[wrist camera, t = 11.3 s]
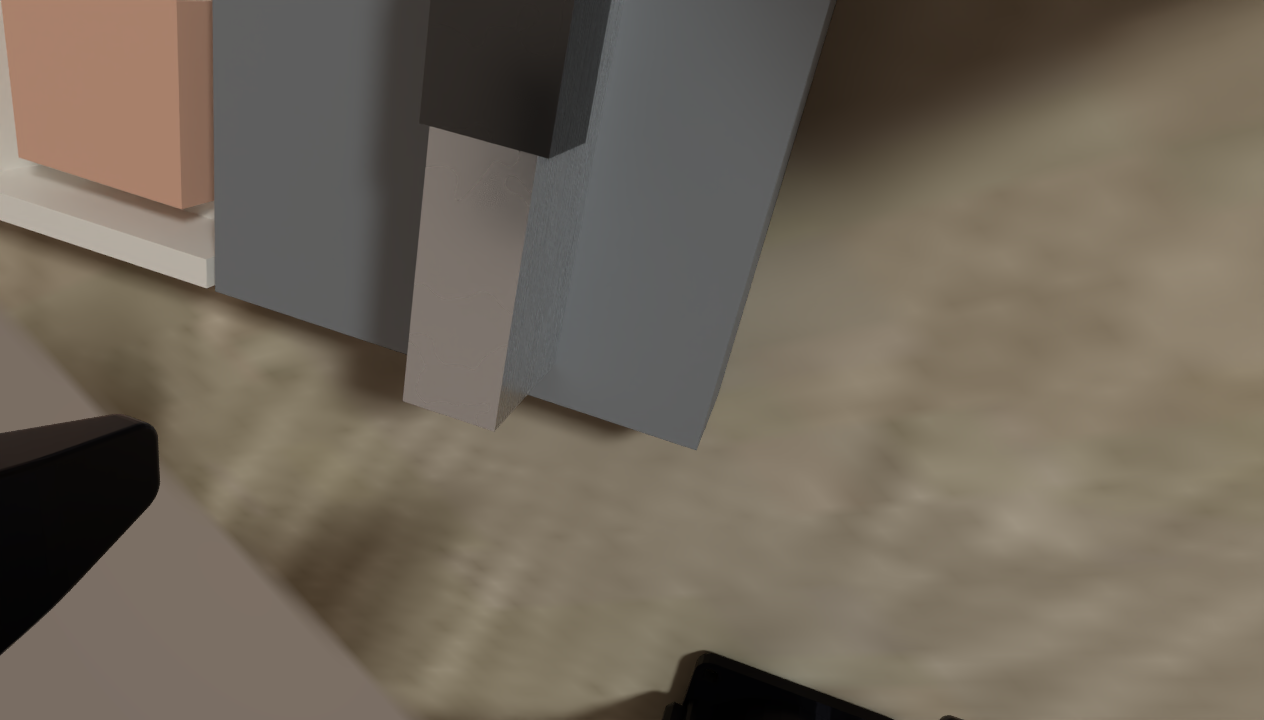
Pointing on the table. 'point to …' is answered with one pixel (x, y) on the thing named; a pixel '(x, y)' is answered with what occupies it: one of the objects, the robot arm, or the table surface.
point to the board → (615, 203)
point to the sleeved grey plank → (502, 194)
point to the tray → (100, 209)
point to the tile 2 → (116, 92)
